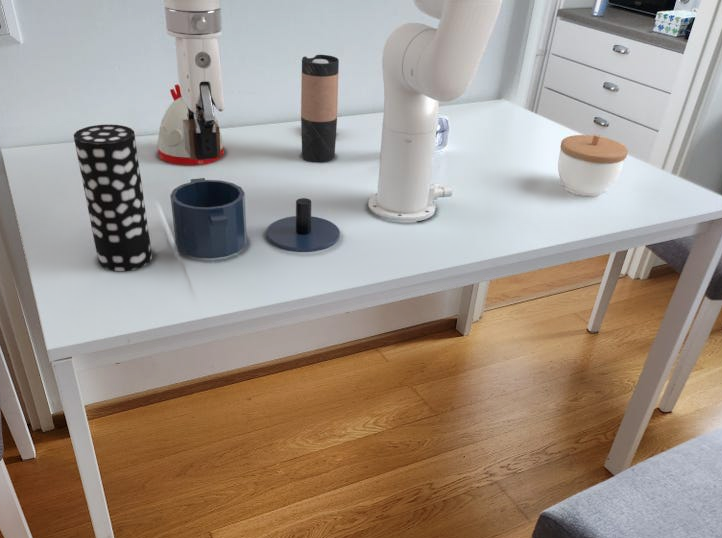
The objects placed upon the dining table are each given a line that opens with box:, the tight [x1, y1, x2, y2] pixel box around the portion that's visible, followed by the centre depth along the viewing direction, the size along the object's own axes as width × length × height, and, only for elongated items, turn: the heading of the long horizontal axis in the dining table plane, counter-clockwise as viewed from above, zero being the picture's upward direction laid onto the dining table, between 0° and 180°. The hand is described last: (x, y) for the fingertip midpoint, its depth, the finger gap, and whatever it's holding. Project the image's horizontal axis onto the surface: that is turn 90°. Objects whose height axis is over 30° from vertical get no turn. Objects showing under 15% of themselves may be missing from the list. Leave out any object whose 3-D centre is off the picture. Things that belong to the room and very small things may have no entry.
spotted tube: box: [73, 124, 153, 272], centre depth 102 cm, size 8×8×20 cm
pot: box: [169, 177, 248, 259], centre depth 111 cm, size 12×17×9 cm
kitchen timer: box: [157, 83, 225, 166], centre depth 142 cm, size 14×14×15 cm
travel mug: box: [300, 54, 340, 163], centre depth 142 cm, size 8×8×20 cm
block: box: [183, 118, 222, 160], centre depth 103 cm, size 5×5×5 cm
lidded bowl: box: [557, 134, 629, 198], centre depth 135 cm, size 13×13×11 cm
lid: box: [266, 197, 341, 253], centre depth 114 cm, size 12×12×7 cm
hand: (203, 151), depth 104 cm, fingers closed on block, 4 cm apart
